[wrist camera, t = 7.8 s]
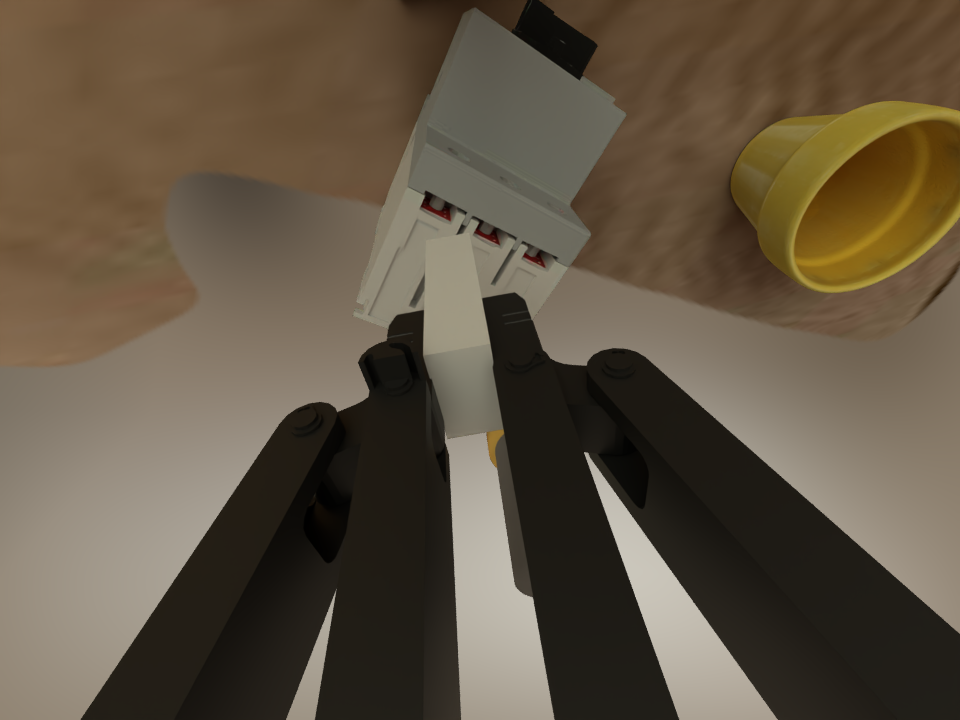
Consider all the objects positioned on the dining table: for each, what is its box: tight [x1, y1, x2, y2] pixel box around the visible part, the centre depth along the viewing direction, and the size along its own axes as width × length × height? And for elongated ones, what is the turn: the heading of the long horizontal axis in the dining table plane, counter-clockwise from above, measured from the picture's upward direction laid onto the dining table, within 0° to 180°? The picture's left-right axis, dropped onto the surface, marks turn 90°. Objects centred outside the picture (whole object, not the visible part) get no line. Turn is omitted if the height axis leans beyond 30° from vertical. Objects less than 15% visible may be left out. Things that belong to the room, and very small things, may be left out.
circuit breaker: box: [353, 0, 627, 329], centre depth 23 cm, size 8×14×15 cm, turn 152°
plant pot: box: [730, 101, 960, 293], centre depth 28 cm, size 10×10×10 cm
